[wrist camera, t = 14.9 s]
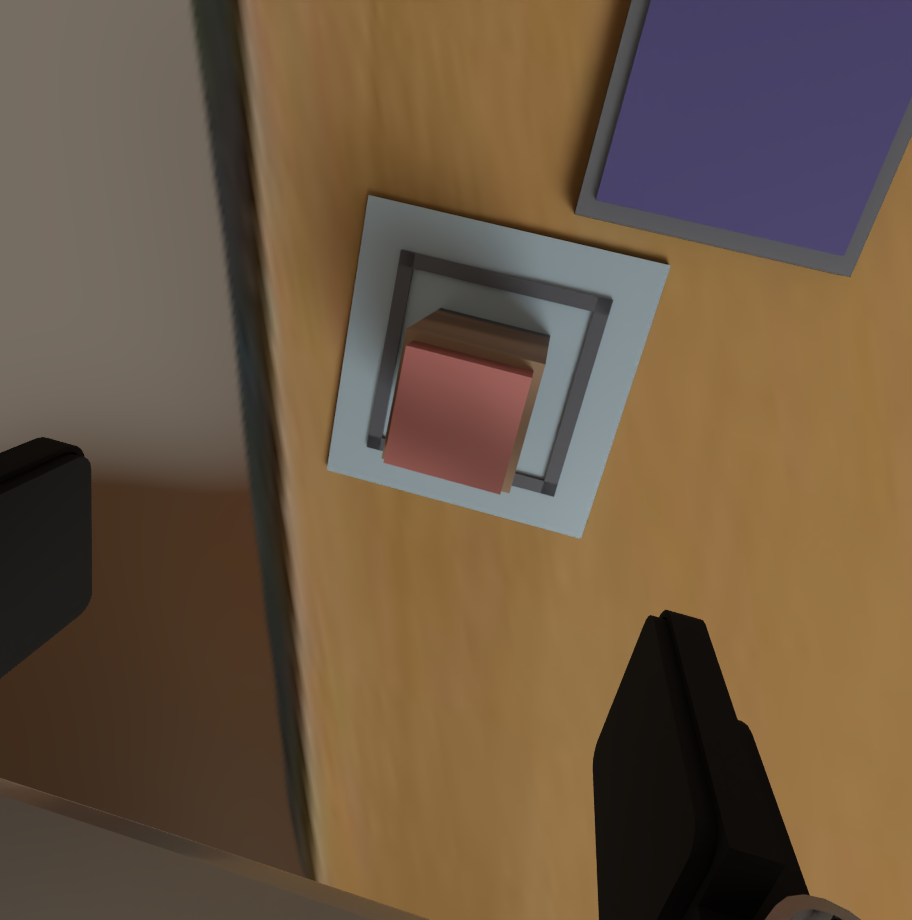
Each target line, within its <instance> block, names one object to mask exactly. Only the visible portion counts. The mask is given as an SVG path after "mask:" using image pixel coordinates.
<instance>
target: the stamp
mask: <svg viewBox="0 0 912 920" xmlns="http://www.w3.org/2000/svg"><path fill="white" fill-rule="evenodd" d="M549 341H550V335H547V334H543V333H539V332H535V331H531V330H527V329H523V328H519V327H515V326H511V325H507V324H503V323H499V322H495V321H491V320H487V319H483V318H479V317H476V316H472V315H468V314H464V313H460V312H456V311H452V310H448V309H444V308H440V309H438V310H436V311H435V312H433V313H431V314H430V315H428V316H427V317H425V318H423V319H422V320H420V321H418V322H417V323H415V324H413V325H412V326H410V327H408V328H407V329H406V332H405V338H404V343H403V348H402V353H401V359H400V364H399V369H398V374H397V379H396V385H395V390H394V395H393V400H392V406H391V411H390V416H389V421H388V426H387V432H386V437H385V442H384V447H383V453H382V458H381V459H384V462H383V463H386V464H390V465H393V466H397V467H401V468H404V469H408V470H412V471H415V472H419V473H423V474H426V475H430V476H434V477H437V478H441V479H445V480H448V481H452V482H455V483H459V484H463V485H466V486H470V487H474V488H477V489H481V490H485V491H488V492H492V493H496V494H499V495H500V494H501V491H502V492H506V493H510V490H511V486H512V483H513V479H514V476H515V472H516V468H517V465H518V461H519V458H520V454H521V450H522V447H523V443H524V440H525V436H526V433H527V429H528V425H529V422H530V418H531V415H532V411H533V408H534V404H535V400H536V397H537V393H538V390H539V386H540V382H541V379H542V375H543V372H544V368H545V365H546V359H547V353H548V347H549Z"/></svg>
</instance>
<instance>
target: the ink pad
mask: <svg viewBox="0 0 912 920" xmlns="http://www.w3.org/2000/svg"><path fill="white" fill-rule="evenodd" d="M911 136H912V0H631V4H630V8H629V12H628V15H627V19H626V23H625V27H624V30H623V34H622V38H621V42H620V45H619V49H618V53H617V57H616V60H615V64H614V68H613V72H612V75H611V79H610V83H609V87H608V90H607V94H606V98H605V102H604V105H603V109H602V113H601V117H600V120H599V124H598V128H597V132H596V135H595V139H594V143H593V147H592V151H591V154H590V158H589V162H588V166H587V169H586V173H585V177H584V181H583V184H582V188H581V192H580V196H579V199H578V203H577V207H576V211H575V214H576V215H580V216H584V217H589V218H593V219H597V220H602V221H606V222H610V223H615V224H619V225H623V226H628V227H632V228H636V229H641V230H645V231H649V232H654V233H658V234H663V235H667V236H671V237H676V238H680V239H684V240H689V241H693V242H697V243H702V244H706V245H710V246H715V247H719V248H723V249H728V250H732V251H736V252H741V253H745V254H749V255H754V256H758V257H762V258H767V259H771V260H775V261H780V262H784V263H789V264H793V265H797V266H802V267H806V268H810V269H815V270H819V271H823V272H828V273H832V274H836V275H841V276H847V277H851V274H852V272H853V270H854V268H855V265H856V263H857V261H858V258H859V256H860V254H861V251H862V249H863V247H864V244H865V242H866V240H867V238H868V235H869V233H870V231H871V228H872V226H873V224H874V221H875V219H876V217H877V214H878V212H879V210H880V208H881V205H882V203H883V201H884V198H885V196H886V194H887V191H888V189H889V187H890V184H891V182H892V180H893V177H894V175H895V173H896V171H897V168H898V166H899V164H900V161H901V159H902V157H903V154H904V152H905V150H906V147H907V145H908V143H909V141H910V138H911Z"/></svg>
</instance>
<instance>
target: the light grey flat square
mask: <svg viewBox="0 0 912 920" xmlns="http://www.w3.org/2000/svg"><path fill="white" fill-rule="evenodd" d="M669 269H670V265H667V264H662V263H658V262H654V261H649V260H645V259H641V258H637V257H632V256H628V255H624V254H620V253H615V252H611V251H607V250H602V249H598V248H594V247H590V246H585V245H581V244H577V243H572V242H568V241H564V240H560V239H555V238H551V237H547V236H543V235H538V234H534V233H530V232H525V231H521V230H517V229H513V228H508V227H504V226H500V225H495V224H491V223H487V222H483V221H478V220H474V219H470V218H466V217H461V216H457V215H453V214H448V213H444V212H440V211H436V210H431V209H427V208H423V207H418V206H414V205H410V204H406V203H401V202H397V201H393V200H389V199H384V198H380V197H376V196H371V195H368V201H367V208H366V214H365V221H364V228H363V234H362V241H361V247H360V254H359V261H358V267H357V274H356V281H355V287H354V294H353V300H352V307H351V314H350V320H349V327H348V333H347V340H346V347H345V353H344V360H343V367H342V373H341V380H340V386H339V393H338V400H337V406H336V413H335V419H334V426H333V433H332V439H331V446H330V453H329V459H328V466H327V470H329V471H333V472H336V473H340V474H344V475H347V476H351V477H355V478H359V479H362V480H366V481H370V482H373V483H377V484H381V485H384V486H388V487H392V488H396V489H399V490H403V491H407V492H410V493H414V494H418V495H421V496H425V497H429V498H432V499H436V500H440V501H444V502H447V503H451V504H455V505H458V506H462V507H466V508H469V509H473V510H477V511H480V512H484V513H488V514H492V515H495V516H499V517H503V518H506V519H510V520H514V521H517V522H521V523H525V524H528V525H532V526H536V527H540V528H543V529H547V530H551V531H554V532H558V533H562V534H565V535H569V536H573V537H577V538H580V539H581V537H582V534H583V531H584V528H585V525H586V522H587V519H588V516H589V513H590V510H591V507H592V504H593V500H594V497H595V494H596V491H597V488H598V485H599V482H600V479H601V476H602V473H603V470H604V467H605V464H606V461H607V458H608V455H609V452H610V449H611V446H612V443H613V440H614V437H615V433H616V430H617V427H618V424H619V421H620V418H621V415H622V412H623V409H624V406H625V403H626V400H627V397H628V394H629V391H630V388H631V385H632V382H633V379H634V376H635V373H636V370H637V367H638V363H639V360H640V357H641V354H642V351H643V348H644V345H645V342H646V339H647V336H648V333H649V330H650V327H651V324H652V321H653V318H654V315H655V312H656V309H657V306H658V303H659V300H660V296H661V293H662V290H663V287H664V284H665V281H666V278H667V275H668V272H669ZM440 308H444V309H448V310H452V311H456V312H460V313H464V314H468V315H472V316H476V317H479V318H483V319H487V320H491V321H495V322H499V323H503V324H507V325H511V326H515V327H519V328H523V329H527V330H531V331H535V332H539V333H543V334H547V335H550V341H549V347H548V353H547V359H546V365H545V368H544V372H543V375H542V379H541V382H540V386H539V390H538V393H537V397H536V400H535V404H534V408H533V411H532V415H531V418H530V422H529V425H528V429H527V433H526V436H525V440H524V443H523V447H522V450H521V454H520V458H519V461H518V465H517V468H516V472H515V476H514V479H513V483H512V486H511V490H510V493H506V492H502V491H501V494H500V495H499V494H496V493H492V492H488V491H485V490H481V489H477V488H474V487H470V486H466V485H463V484H459V483H455V482H452V481H448V480H445V479H441V478H437V477H434V476H430V475H426V474H423V473H419V472H415V471H412V470H408V469H404V468H401V467H397V466H393V465H390V464H386V463H383V462H384V459H381V458H382V453H383V447H384V442H385V437H386V432H387V426H388V421H389V416H390V411H391V406H392V400H393V395H394V390H395V385H396V379H397V374H398V369H399V364H400V359H401V353H402V348H403V343H404V338H405V332H406V329H407V328H408V327H410V326H412V325H413V324H415V323H417V322H418V321H420V320H422V319H423V318H425V317H427V316H428V315H430V314H431V313H433V312H435V311H436V310H438V309H440Z"/></svg>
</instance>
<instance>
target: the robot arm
mask: <svg viewBox="0 0 912 920" xmlns="http://www.w3.org/2000/svg"><path fill="white" fill-rule="evenodd" d="M91 526H92V525H91V465H90V462H89V461H88V459H87V458H85V457H84V454H83V452H82V450H81V449H80V448H79V447H77V446H74V445H71V444H67V443H63V442H60V441H56V440H53V439H49V438H45V437H41V438H36V439H34V440H31V441H29V442H27V443H24V444H21V445H19V446H17V447H14V448H11V449H9V450H7V451H4V452H1V453H0V678H2V677H3V676H4V675H5V674H6V673H8V672H9V671H10V670H12V669H13V668H14V667H15V666H17V665H18V664H19V663H20V662H21V661H23V660H24V659H25V658H27V657H28V656H29V655H30V654H31V653H32V652H34V651H35V650H37V649H38V648H39V647H40V646H42V645H43V644H44V643H45V642H47V641H48V640H49V639H50V638H52V637H53V636H54V635H55V634H57V633H58V632H59V631H60V630H62V629H63V628H64V627H65V626H67V625H68V624H69V623H70V622H72V621H73V620H74V619H75V618H77V617H78V616H79V615H80V614H81V613H82V612H83V611H84V610H85V609H86V607H87V605H88V603H89V601H90V599H91V595H92V536H91V535H92V528H91ZM593 786H594V810H595V835H596V859H597V883H598V907H599V920H861V919H859V918H858V917H857V916H855V915H854V914H852V913H851V912H850V911H848V910H846V909H844V908H842V907H840V906H838V905H836V904H834V903H832V902H830V901H828V900H826V899H823V898H818V897H814V896H810V895H809V892H808V889H807V886H806V884H805V881H804V878H803V875H802V872H801V870H800V867H799V864H798V861H797V858H796V856H795V853H794V850H793V847H792V844H791V842H790V839H789V836H788V833H787V830H786V828H785V825H784V822H783V819H782V816H781V814H780V811H779V808H778V805H777V802H776V799H775V797H774V794H773V791H772V788H771V785H770V783H769V780H768V777H767V774H766V771H765V769H764V766H763V763H762V760H761V757H760V755H759V752H758V749H757V746H756V743H755V741H754V738H753V735H752V733H751V731H750V729H749V727H748V725H746V724H745V723H744V722H742V721H739V720H737V717H736V714H735V711H734V708H733V705H732V702H731V699H730V696H729V693H728V690H727V687H726V684H725V681H724V678H723V675H722V672H721V669H720V666H719V663H718V660H717V657H716V654H715V651H714V648H713V646H712V643H711V640H710V637H709V634H708V631H707V628H706V625H705V623H704V621H703V620H701V619H697V618H694V617H690V616H687V615H683V614H679V613H676V612H672V611H669V610H665V611H663V612H662V613H661V615H660V616H659V617H655V616H652V615H650V616H648V618H647V619H646V621H645V623H644V626H643V628H642V631H641V633H640V636H639V638H638V641H637V643H636V646H635V648H634V651H633V653H632V656H631V658H630V661H629V663H628V666H627V668H626V671H625V673H624V676H623V678H622V681H621V684H620V686H619V689H618V691H617V694H616V696H615V699H614V701H613V704H612V706H611V709H610V711H609V714H608V716H607V719H606V721H605V724H604V726H603V729H602V731H601V734H600V736H599V739H598V741H597V744H596V748H595V752H594V758H593ZM0 920H429V919H426V918H423V917H420V916H417V915H414V914H411V913H408V912H405V911H402V910H399V909H396V908H393V907H390V906H387V905H384V904H381V903H378V902H375V901H372V900H369V899H366V898H363V897H360V896H357V895H354V894H351V893H348V892H345V891H342V890H339V889H336V888H333V887H330V886H327V885H324V884H321V883H318V882H315V881H312V880H309V879H306V878H303V877H300V876H297V875H294V874H291V873H288V872H285V871H282V870H279V869H276V868H273V867H270V866H267V865H264V864H261V863H258V862H255V861H252V860H249V859H246V858H243V857H240V856H237V855H234V854H231V853H228V852H225V851H222V850H219V849H216V848H213V847H209V846H207V845H204V844H201V843H198V842H194V841H191V840H188V839H185V838H182V837H179V836H176V835H173V834H170V833H167V832H164V831H161V830H158V829H155V828H152V827H148V826H146V825H143V824H139V823H136V822H133V821H130V820H127V819H124V818H121V817H118V816H115V815H112V814H108V813H106V812H103V811H100V810H97V809H93V808H90V807H87V806H84V805H81V804H78V803H75V802H72V801H69V800H66V799H63V798H60V797H57V796H53V795H50V794H47V793H44V792H41V791H38V790H35V789H32V788H29V787H26V786H23V785H20V784H16V783H13V782H10V781H7V780H4V779H1V778H0Z"/></svg>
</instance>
